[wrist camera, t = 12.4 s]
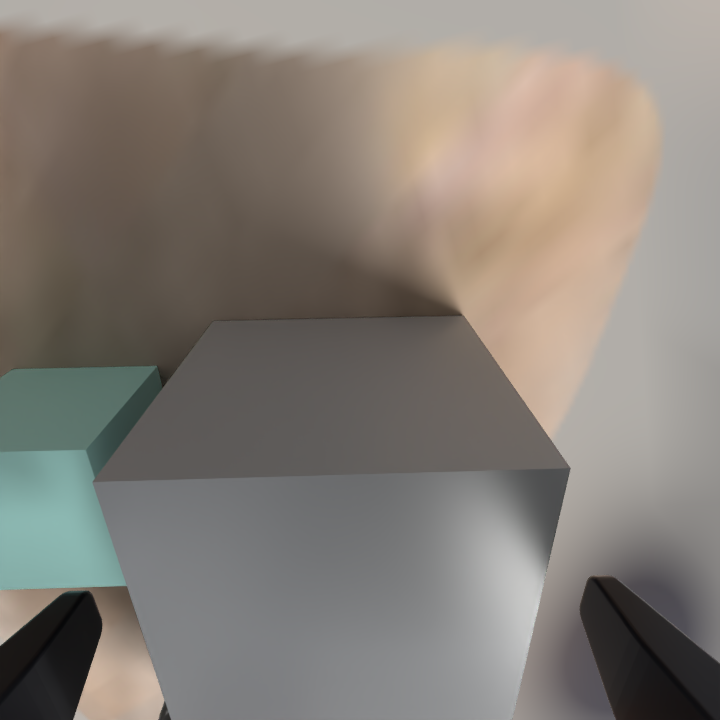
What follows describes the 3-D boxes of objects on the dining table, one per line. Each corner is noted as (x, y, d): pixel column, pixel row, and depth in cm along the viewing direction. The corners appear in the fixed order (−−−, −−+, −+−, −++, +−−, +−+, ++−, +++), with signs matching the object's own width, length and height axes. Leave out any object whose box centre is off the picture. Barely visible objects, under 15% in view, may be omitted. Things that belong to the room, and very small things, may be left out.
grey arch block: (446, 506, 15) (509, 731, 9) (243, 512, 15) (179, 745, 9) (463, 315, 12) (570, 468, 7) (213, 320, 12) (92, 482, 6)
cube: (183, 477, 15) (129, 585, 11) (56, 480, 15) (-40, 590, 11) (158, 364, 13) (85, 450, 9) (15, 367, 13) (-115, 454, 9)
